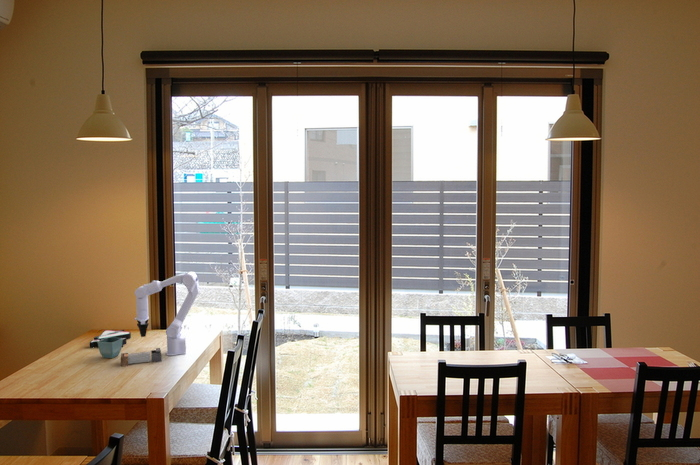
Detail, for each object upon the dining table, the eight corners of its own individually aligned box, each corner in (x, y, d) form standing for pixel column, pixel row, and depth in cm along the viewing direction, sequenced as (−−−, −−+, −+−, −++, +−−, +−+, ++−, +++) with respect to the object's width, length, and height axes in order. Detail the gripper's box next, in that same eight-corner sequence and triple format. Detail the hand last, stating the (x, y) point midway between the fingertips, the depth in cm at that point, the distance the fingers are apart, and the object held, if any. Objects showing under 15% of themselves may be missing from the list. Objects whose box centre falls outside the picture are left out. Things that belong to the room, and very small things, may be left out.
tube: (150, 359, 269) (149, 351, 268) (150, 361, 265) (149, 353, 265) (124, 362, 264) (124, 354, 264) (124, 364, 261) (123, 356, 260)
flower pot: (112, 360, 269) (112, 342, 268) (97, 359, 270) (96, 341, 270) (123, 354, 277) (123, 338, 277) (108, 353, 279) (108, 337, 278)
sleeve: (160, 357, 272) (160, 347, 271) (161, 361, 266) (161, 350, 266) (151, 359, 270) (151, 348, 270) (151, 362, 264) (151, 351, 264)
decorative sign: (87, 344, 286) (100, 330, 315) (87, 350, 286) (100, 336, 315) (123, 342, 290) (133, 328, 319) (123, 348, 290) (133, 334, 319)
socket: (128, 361, 266) (128, 352, 266) (128, 365, 260) (127, 356, 260) (121, 362, 265) (121, 353, 265) (121, 366, 259) (120, 357, 258)
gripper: (134, 307, 281) (135, 332, 282) (134, 312, 268) (134, 339, 269) (148, 306, 284) (149, 330, 285) (148, 311, 271) (149, 337, 272)
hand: (143, 334), depth 277 cm, fingers open, 7 cm apart
